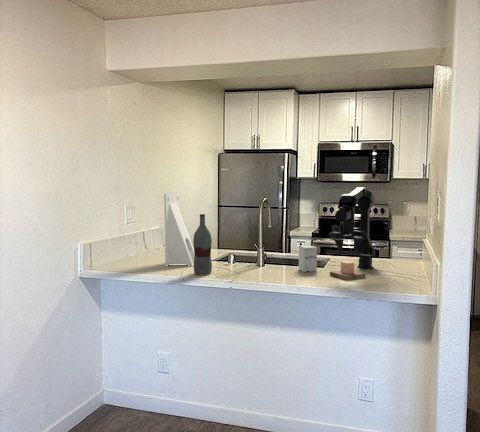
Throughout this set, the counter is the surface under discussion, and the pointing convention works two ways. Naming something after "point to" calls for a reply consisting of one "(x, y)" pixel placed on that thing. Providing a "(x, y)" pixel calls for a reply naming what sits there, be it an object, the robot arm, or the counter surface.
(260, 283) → the counter surface
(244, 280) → the counter surface
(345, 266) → the terracotta block
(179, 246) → the white bracket plate
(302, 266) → the supplement box
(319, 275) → the counter surface
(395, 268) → the counter surface
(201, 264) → the bottle
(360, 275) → the walnut base
